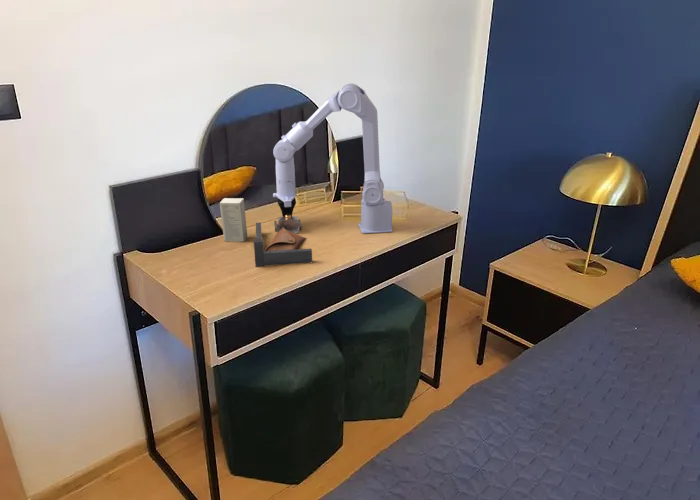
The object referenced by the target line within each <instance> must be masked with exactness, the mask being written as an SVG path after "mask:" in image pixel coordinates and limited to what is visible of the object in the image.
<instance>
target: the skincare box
mask: <svg viewBox="0 0 700 500" xmlns="http://www.w3.org/2000/svg"><path fill="white" fill-rule="evenodd" d="M219 209H220V216H221V217H220V218H221V225H222V233H223V241H224V242H245V241H246V239H247V237H248V228H247V218H246V207H245V199H244V198H243V197H242V198H241V197H240V198H238V197H236V198H235V197H231V198H230V197H229V198H228V197H224V198H223V199H221V201H220V202H219Z"/></svg>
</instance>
